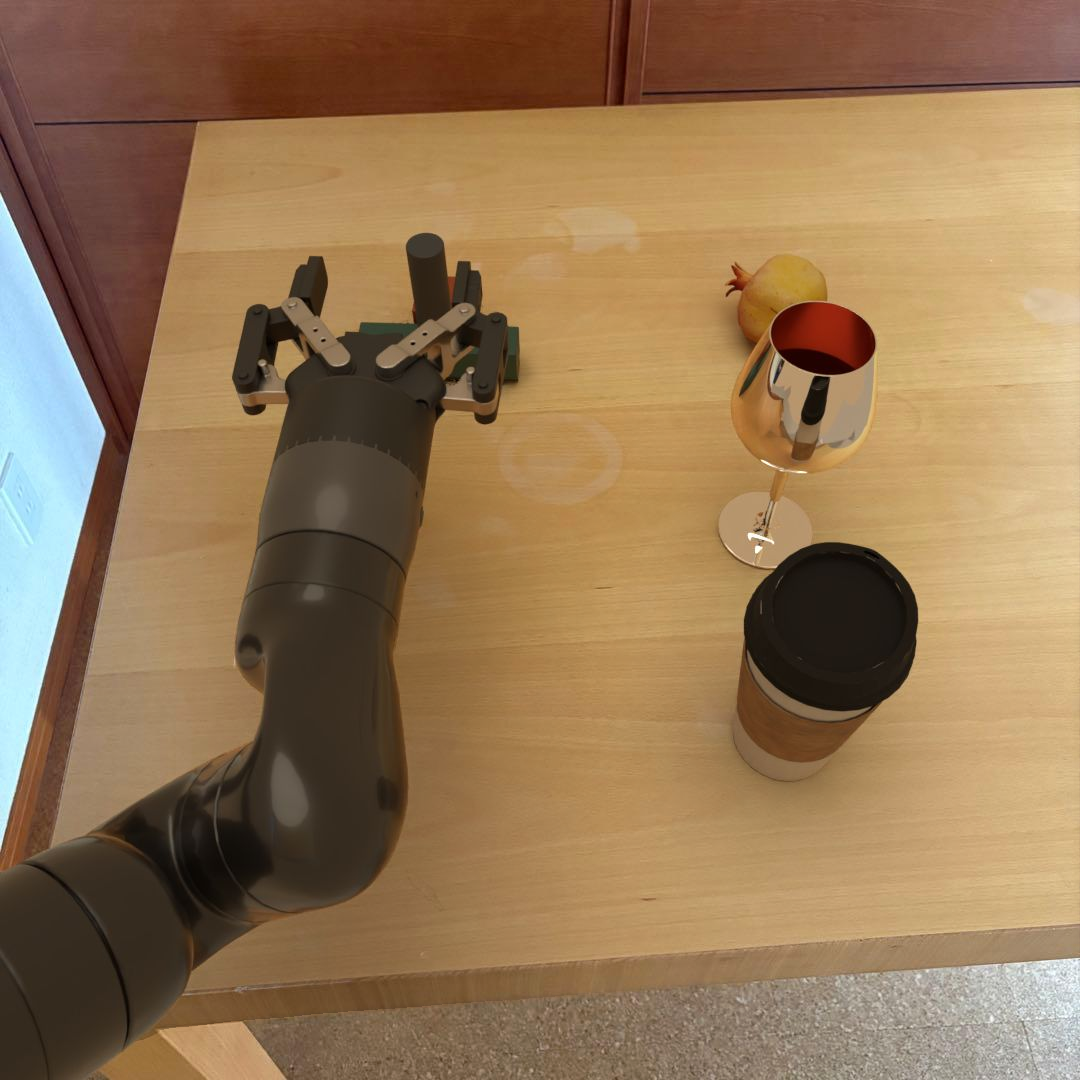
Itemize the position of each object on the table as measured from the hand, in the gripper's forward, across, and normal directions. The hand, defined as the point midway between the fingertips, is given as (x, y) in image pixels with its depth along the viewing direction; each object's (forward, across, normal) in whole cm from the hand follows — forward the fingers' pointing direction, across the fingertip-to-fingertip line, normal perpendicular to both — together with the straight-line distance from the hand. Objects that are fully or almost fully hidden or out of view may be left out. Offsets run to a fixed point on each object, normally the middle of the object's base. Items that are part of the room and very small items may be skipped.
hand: (392, 269), depth 58 cm
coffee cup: (-20, -24, +17) cm, 36 cm away
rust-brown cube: (+13, 0, +18) cm, 22 cm away
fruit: (+14, -26, +18) cm, 34 cm away
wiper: (+9, 0, +18) cm, 20 cm away
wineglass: (-5, -24, +18) cm, 30 cm away
